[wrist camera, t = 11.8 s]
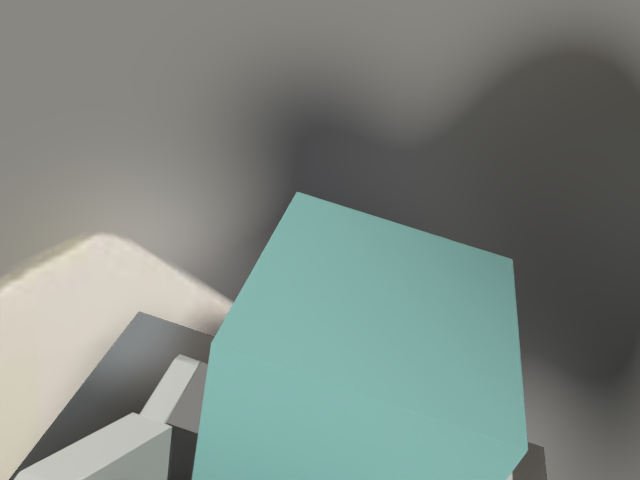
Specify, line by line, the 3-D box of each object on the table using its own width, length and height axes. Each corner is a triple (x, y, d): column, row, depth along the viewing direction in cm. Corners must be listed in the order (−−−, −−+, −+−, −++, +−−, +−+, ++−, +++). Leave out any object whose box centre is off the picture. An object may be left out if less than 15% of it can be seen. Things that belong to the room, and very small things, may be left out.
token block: (366, 535, 16) (512, 259, 10) (336, 709, 12) (528, 449, 7) (231, 487, 16) (296, 191, 10) (168, 645, 13) (211, 343, 7)
